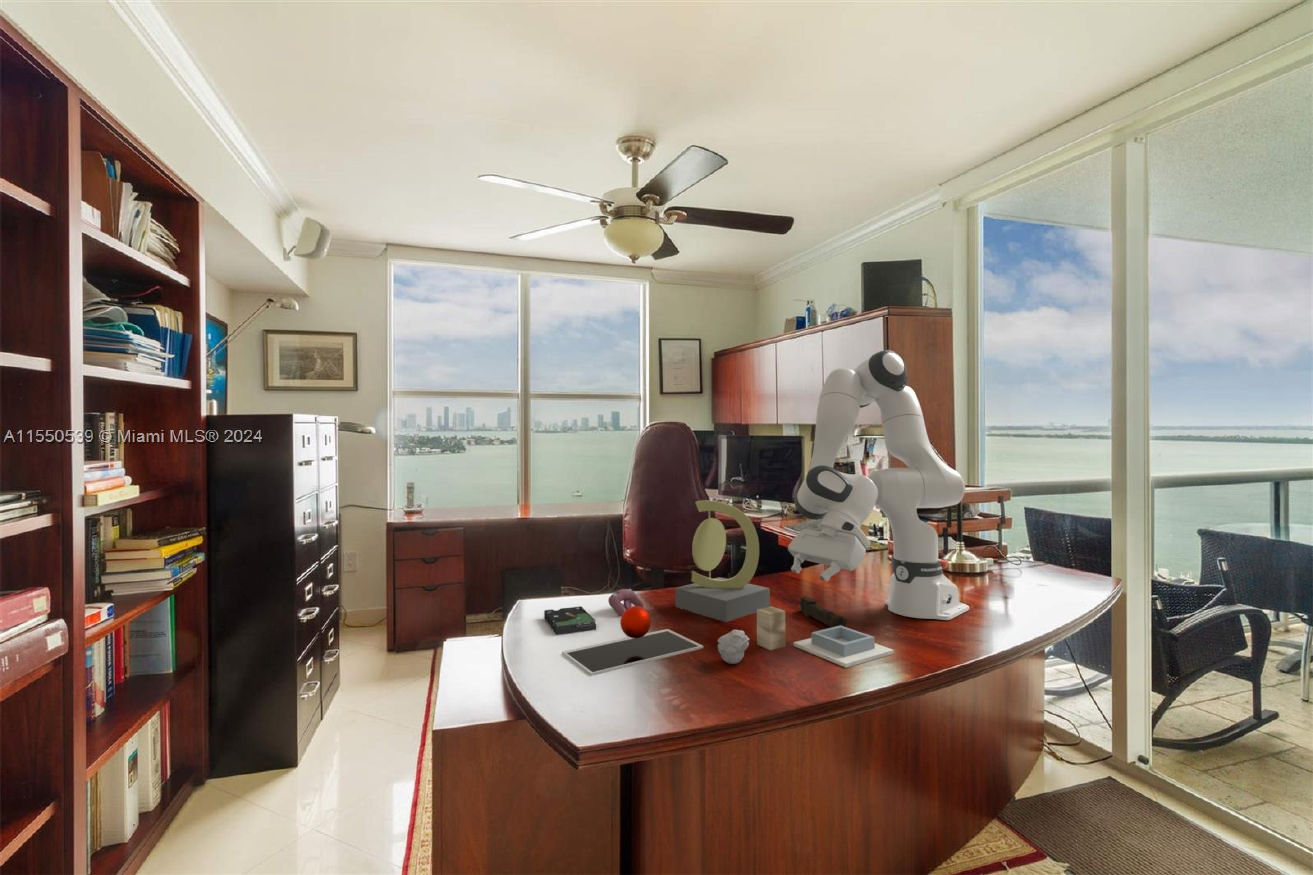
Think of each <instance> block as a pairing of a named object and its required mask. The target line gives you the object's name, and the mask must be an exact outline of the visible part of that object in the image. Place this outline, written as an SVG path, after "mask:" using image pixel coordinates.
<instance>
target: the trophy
mask: <svg viewBox="0 0 1313 875" xmlns="http://www.w3.org/2000/svg"><path fill="white" fill-rule="evenodd" d="M695 506H696V508H697V511H698V512H699V513H702V512H708V518H707V519H704V520H703V521H702V522H700V524H699V526H698V527H697V528H696V530H695V533H694V535H693V540H692V544H691V547H692V548H691V550H692V551H691V552H692V553H691V555H692V559H693V562H694V563H695V566H696V567H697V568H698V569H700V571H707V572H708V576H705V575H703V574H700V573H698V572H696V571H694V570H692V572H691V580H690V581H691V582H692V583H690V584H686V585H682V586H678V587H675V597H674V598H675V602H674V603H675V605H674V606H675V608H676V607H678V608H677V609H679V608H680V610H683V609H685V610H684V611H686V610H688V611H687V612H689V611H691V612H690V613H693V614H697V615H700V614H701V615H700V616H704V617H707V618H711V619H713V618H714V619H713V620H717V621H721V622H723V623H724V622H725V623H728V622H731V621H734V619H735V620H737V618H738V619H741V618H744V617H746V615H747V616H749V615H748V614H750V615H753V614H756V613H757V609H761V608H766V607H771V588H769V587H767V586H766V587H765V586H761V585H757V584H751V583H750V582H751V580H752V579H753V577H754V575H755V573H756V570H757V569H758V564H759V560H760V559H759V558H760V542H759V541H760V540H759V536H758V533H757V530H756V528H755V525H754V523H753V522H752V520H751V519H750V518H749V517H748V516H747V514H745V513H744V512H743V511H741V510H740V509H739V508H737V507H735V506H733V505H731V504H728V503H725V502H722V501H717V500H706V499H705V500H697V501H695ZM711 512H718V513H723V514H724V515H725V514H726V515H727V516H729V517H731V518H733V520H735V521H736V522H737V524H738V525H739V526H740V528H741V530H742V531H743V534H744V537H745V543H746V544H745V545H746V548H745V557H744V558H745V559H744V561H743V565H742V567H741V569H740V570H739V571H738V573H737V574H736V575H734V576H733V577H731V578H724V577H715V578H712V577H711V575H712V574H711V572H712V570H714V569H715V568H717V566H719V564H720V563H721V561H722V560H723V556H724V555H725V552H726V546H727V534H726V529H725V526H724V524H723V523H722V521H720V520H719V519H718V518H714V517H711ZM755 612H756V613H755Z"/></svg>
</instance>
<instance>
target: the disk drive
mask: <svg viewBox="0 0 1313 875" xmlns="http://www.w3.org/2000/svg"><path fill="white" fill-rule="evenodd" d="M543 614H544V615H543V616H544V621H545V622H546V623H547V625H549V627H550V628H551V630H552V631H553V633H554V634H555V636H560V635H567V634H574V633H575V634H577V633H583V632H591V631H597V623H596V621H595V618H594V617H593V616H591V614H590V613H589V612H587V610H586V609H585V608H584V607H583V606H573V607H563V608H559V609H558V610H557V609H556V610H554V609H545V610H544V612H543Z"/></svg>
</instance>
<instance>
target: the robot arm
mask: <svg viewBox="0 0 1313 875" xmlns="http://www.w3.org/2000/svg"><path fill="white" fill-rule="evenodd" d="M908 380H909V377H908V370H907V366H906V363H905V361H904V359H903V358H902V357H901V355H899V353H896V352H895V351H893V350H889V349H885V350H881V351H879V352H876V353H874V354H872V355H871V356H870V357H869V358H868V359H866V360H864V361H863V362H861V363H860V364H859V365H857V366H856V368H855V369H854V370H853V369H850V368H845V367H839V368H837V369H833V370H832V371H831V372H829V374H828V376H827V377H826V379H825V382H824V384H823V387H822V389H821V391H820V396H819V399H818V403H817V409H816V418H815V430H814V431H815V433H814V443H813V450H812V454H811V459H810V462H809V466H808V470H807V474H806V476H804V477H805V478H804V479H803V481H802V483H801V485H800V487H799V489H798V490H797V492H796V493H795V495H794V497H793V498H794V499H793V500H794V501H793V502H794V506H795V509H796V511H798V513H799V514H800V515H802V516H803V517H805V518H806V519H809V520H817V521H819V520H820V522H819V524H818V525H817V527H816V526H815V527H814V526H808V527H807V528H803V529H802V530H800V532H798V534H797V535H795V537H794V538H793V539H792V540H791V541H790V543H789V544H788V547H787V551H788V552H789V553H790V555H791V556H792V557H794V558H793V565H792V566H791V568H790V570H791V571H792V572H793V573H794V574H800V573H801V571H802V570H803V568H802V567H801V564H802V563H804V562H805V561H808V562H812V563H817V564H821V565H824V566H825V565H826V566H829V567H828V568H827V569H825V570H824V569H823V570H821V572H820V574H819V578H820V579H821V580H822V581H823V582H824V581H825V582H829V581H830V579H831V577H832V576H834V575H836V574H837V573H839V572H840V571H841V569H843V570H847V571H851V572H852V571H855V570H856V569H858V567H859V566H860V565H861V563H862V561H863V560H864V557H865V556H866V553H867V551H866V550H867V549H869V548H870V546H871V544H872V542H871V541H870V540H869V538H868V537H867V535H866V534H865V532H864V531H863V530H862V529H861V528H862V524H863V523H864V522H865V521H866V520H867V519H868V518H869V516H870V514H871V513H872V511H873V510H874V507H875V506H876V507H877V508H878V509H880V511H882V513H883V514H884V515H885V517H886V519H887V520H888V522H889V525H890V529H891V531H892V532H891V533H892V542H893V556H892V560H891V570H892V572H893V573H892V574H891V575H890V577H889V588H888V599H885V605H887V610H888V611H889V612H892V613H893V614H897V615H900V616H903V617H909V618H914V619H915V618H916V619H928V620H929V619H930V620H932V619H933V620H941V621H949V620H952V619H954V618H956V617H958V616H960V615H962V614H964V613H966V612H968V611H970V606H969V605H968V604H966V603H963V602H960V593H959V592H960V591H959V588H958V587H957V585H956V584H954V582H952V581H951V580H949V579H948V577H946V575H944V570H943V569H947V568H948V567H949V562H948V560H943V559H939V535H938V533H937V531H936V529H935V527H933V526H932V525H931V524H929V523H927V522H925V521H923V520H921V519H920V517H919V515H918V511H917V509H929V508H930V509H940V508H941V509H942V508H945V507H952V506H954V505H958V504H960V502H962V500H963V498H964V496H965V492H966V484H965V480H964V478H963V477H962V475H961V474H960V473H959V472H958V471H957V470H955V469H953V468H951V467H950V466H949V465H947V464H946V463H945V461H944V462H943V459H941V458H940V457H939V456H938V455H937V453H936V452H935V450H934V449H933V447H932V445H931V441H930V439H929V436H928V433H927V428H926V423H925V419H924V415H923V410H922V408H921V405H920V401H919V399H918V397H917V394H916V392H915V391H914V390H913V389H912V388H911V387H910V386H908V385H907V384H908V382H909V381H908ZM874 402H875V403H876V405H877V406H878V407H879V410H880V418H881V420H880V421H881V426H882V432H883V439H884V443H885V450H886V451H887V452H888V453H889V454H890V455H891V457H893V458H896V459H898V460H899V461H901V462H903V463H904V464H905V466H906V467H888V468H883V469H879V470H874V471H873V472H872V473H871V474H870V475H869V476H868V477H867V476H866V475H864V474H860V473H855V474H850V473H844V472H841V471H839V470H836V469H835V468H834V466H835V462H836V459H837V456H838V454H839V451H840V450H841V448H842V447H843V445H844V443H845V442H846V440H847V438H848V437H849V436H850V434H851V433H852V431H853V429H854V427H855V425H856V422H857V420H858V417H859V414H860V409H862V408H865V407H869V405H871V404H872V403H874Z"/></svg>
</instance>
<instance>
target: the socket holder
mask: <svg viewBox="0 0 1313 875" xmlns="http://www.w3.org/2000/svg"><path fill="white" fill-rule="evenodd" d="M875 642H876V639H875V636H873V635H869V634H867V633H864V632H860V631H858V630H854V629H853V628H849V627H847V626H846V627H844V626H836V627H832V628H830V627H827V628H823V629H820V630H817V631H812V632H810V638H805V639H802V640H798V641H797V640H796V641H793V647H795V648H797V649H800V650H802V651H805V652H807V653H809V654H812V655H815V656H817V657H819V658H821V659H825V660H827V661H829V662H831V663H834V664H836V665H839V666H841V667H843V668H846V669H847V668H850V667H853V666H857V665H860V664H863V663H867V662H870V661H874V660H877V659H880V658H884V657H887V656H891V655H893V654H894V649H893V648H890V647H887V646H884V645H881V644H878V643H875Z"/></svg>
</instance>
